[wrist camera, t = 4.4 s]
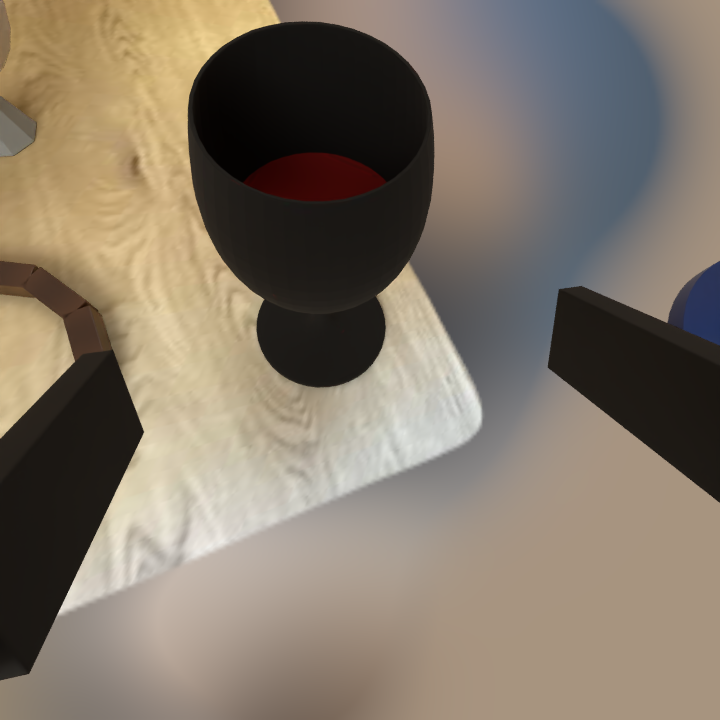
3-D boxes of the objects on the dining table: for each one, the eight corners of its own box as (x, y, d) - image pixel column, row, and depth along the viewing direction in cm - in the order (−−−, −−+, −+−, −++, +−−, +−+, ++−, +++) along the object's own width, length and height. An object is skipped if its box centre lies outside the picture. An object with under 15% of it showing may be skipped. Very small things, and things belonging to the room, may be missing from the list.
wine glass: (300, 249, 36) (268, -29, 17) (407, 305, 35) (498, 75, 16) (230, 348, 33) (95, 137, 14) (346, 412, 32) (372, 281, 13)
